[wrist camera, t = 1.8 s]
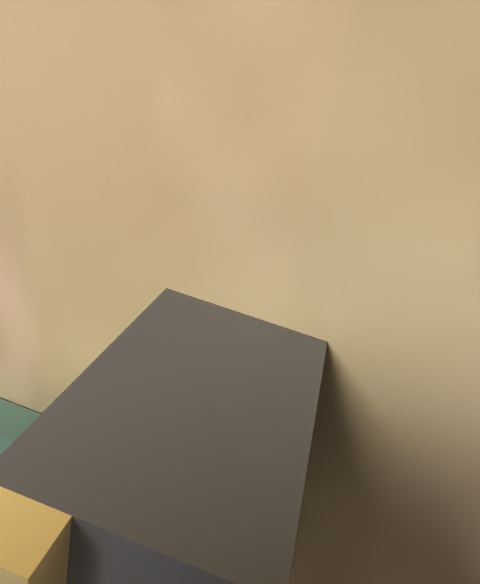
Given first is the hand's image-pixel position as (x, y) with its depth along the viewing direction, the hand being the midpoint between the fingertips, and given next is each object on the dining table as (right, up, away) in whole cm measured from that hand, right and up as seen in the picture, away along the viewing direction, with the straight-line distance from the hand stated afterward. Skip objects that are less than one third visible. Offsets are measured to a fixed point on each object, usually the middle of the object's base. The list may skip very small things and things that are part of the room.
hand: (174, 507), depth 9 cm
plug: (+1, +1, +3) cm, 4 cm away
